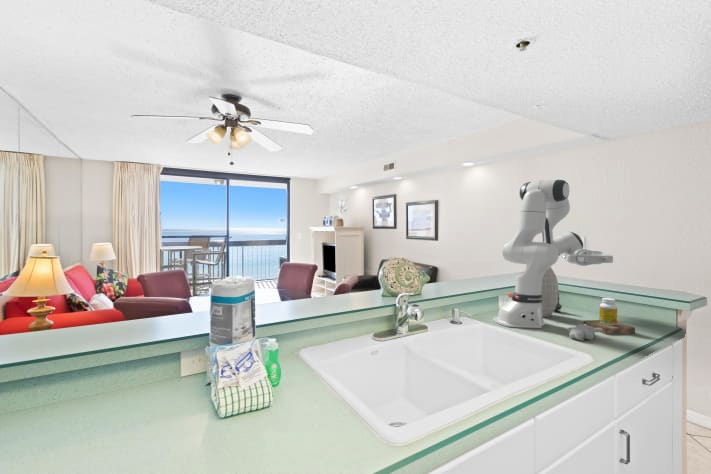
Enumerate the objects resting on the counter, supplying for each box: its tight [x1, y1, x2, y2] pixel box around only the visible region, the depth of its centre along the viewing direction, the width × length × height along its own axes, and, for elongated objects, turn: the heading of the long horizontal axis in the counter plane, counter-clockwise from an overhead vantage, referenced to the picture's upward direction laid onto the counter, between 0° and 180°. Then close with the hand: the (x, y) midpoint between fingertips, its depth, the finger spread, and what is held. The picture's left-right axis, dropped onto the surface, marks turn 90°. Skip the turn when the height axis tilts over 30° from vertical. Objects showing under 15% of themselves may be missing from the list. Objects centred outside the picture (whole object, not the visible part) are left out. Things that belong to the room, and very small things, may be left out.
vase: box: [541, 266, 559, 318], centre depth 169 cm, size 13×13×28 cm
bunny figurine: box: [567, 323, 603, 342], centre depth 136 cm, size 10×5×15 cm
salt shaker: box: [553, 291, 563, 314], centre depth 177 cm, size 6×6×12 cm
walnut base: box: [582, 319, 636, 335], centre depth 146 cm, size 14×12×2 cm
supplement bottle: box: [598, 297, 618, 325], centre depth 146 cm, size 6×6×11 cm
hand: (595, 259), depth 158 cm, fingers open, 8 cm apart
